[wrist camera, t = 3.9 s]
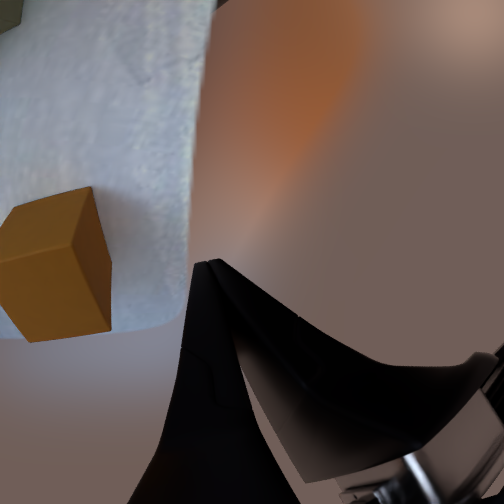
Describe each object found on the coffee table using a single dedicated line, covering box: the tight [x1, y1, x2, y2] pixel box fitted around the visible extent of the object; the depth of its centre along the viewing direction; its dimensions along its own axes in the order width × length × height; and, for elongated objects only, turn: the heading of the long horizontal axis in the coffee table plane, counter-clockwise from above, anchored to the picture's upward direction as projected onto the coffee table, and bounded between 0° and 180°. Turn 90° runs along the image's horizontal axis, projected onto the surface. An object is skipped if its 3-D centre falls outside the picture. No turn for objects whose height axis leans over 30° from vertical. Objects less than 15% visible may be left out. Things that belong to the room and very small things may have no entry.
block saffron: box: [0, 187, 112, 343], centre depth 8 cm, size 4×4×4 cm
